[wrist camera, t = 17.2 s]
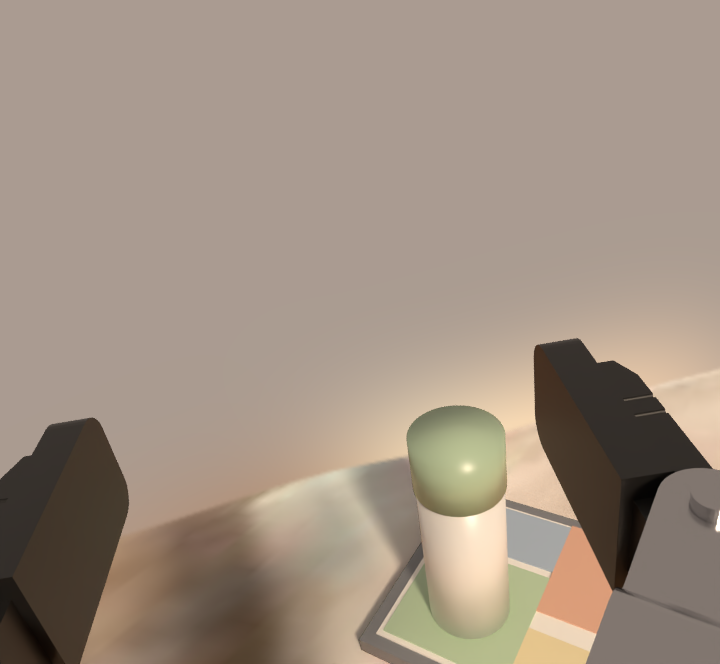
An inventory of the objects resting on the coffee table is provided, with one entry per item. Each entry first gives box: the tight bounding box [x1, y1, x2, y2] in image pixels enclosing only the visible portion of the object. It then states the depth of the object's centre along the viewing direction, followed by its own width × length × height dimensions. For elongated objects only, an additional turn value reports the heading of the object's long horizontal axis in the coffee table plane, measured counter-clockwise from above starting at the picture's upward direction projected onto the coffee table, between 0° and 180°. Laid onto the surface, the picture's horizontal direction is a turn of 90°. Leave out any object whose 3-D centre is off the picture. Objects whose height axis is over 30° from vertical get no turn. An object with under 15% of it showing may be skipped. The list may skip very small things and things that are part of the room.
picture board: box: [359, 500, 613, 664], centre depth 37 cm, size 16×13×1 cm
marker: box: [407, 406, 510, 639], centre depth 34 cm, size 5×5×12 cm
